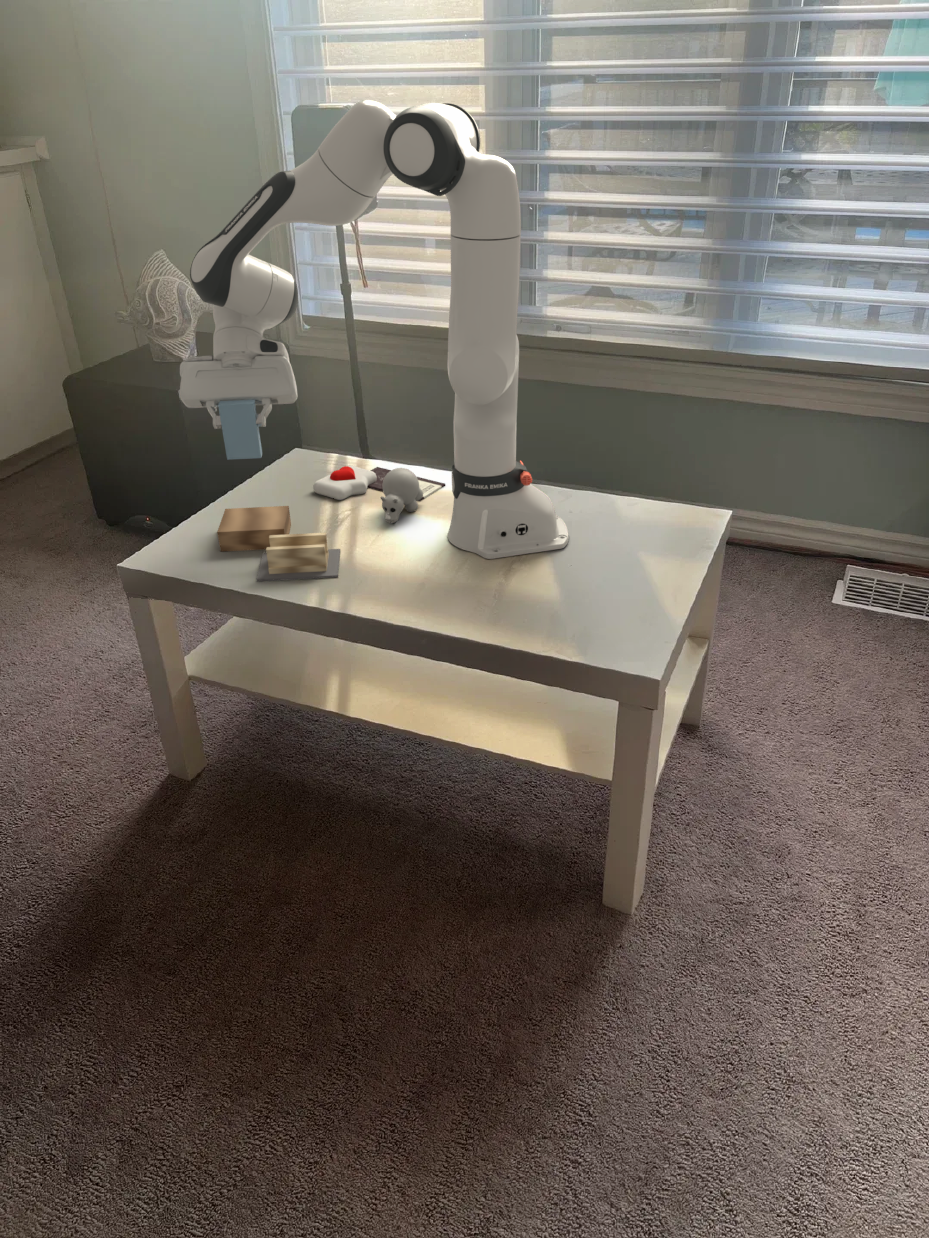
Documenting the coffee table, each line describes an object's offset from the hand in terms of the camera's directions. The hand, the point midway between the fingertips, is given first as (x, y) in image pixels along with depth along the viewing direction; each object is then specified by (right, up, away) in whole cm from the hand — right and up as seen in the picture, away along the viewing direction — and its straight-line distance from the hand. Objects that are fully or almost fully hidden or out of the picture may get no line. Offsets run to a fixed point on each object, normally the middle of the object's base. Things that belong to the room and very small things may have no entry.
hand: (239, 426), depth 161 cm
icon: (+15, -7, +32) cm, 36 cm away
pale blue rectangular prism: (0, -5, +4) cm, 6 cm away
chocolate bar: (+25, -6, +33) cm, 42 cm away
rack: (+10, -24, +3) cm, 26 cm away
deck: (0, -18, +12) cm, 22 cm away
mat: (+10, -24, +3) cm, 26 cm away
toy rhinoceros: (+27, -13, +21) cm, 36 cm away
